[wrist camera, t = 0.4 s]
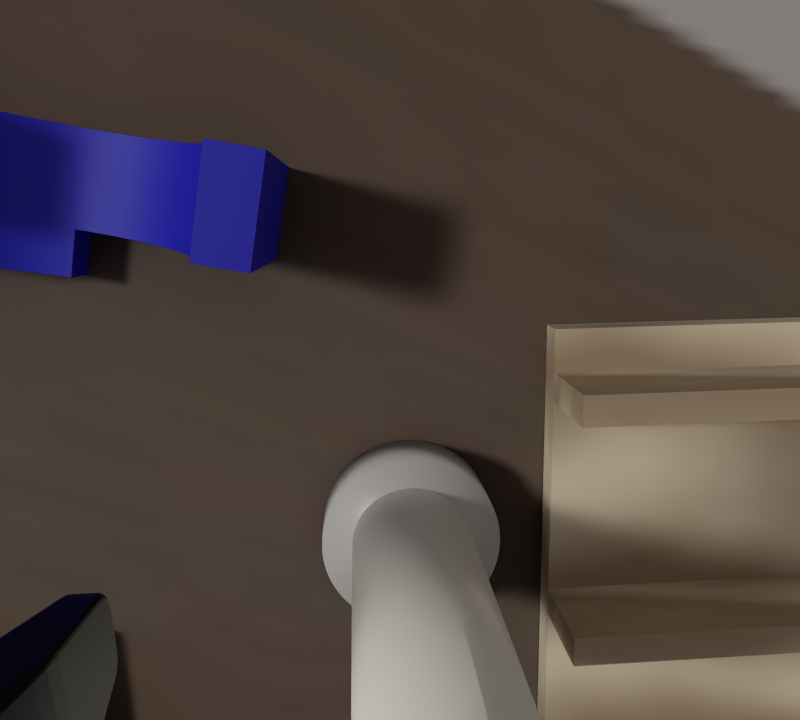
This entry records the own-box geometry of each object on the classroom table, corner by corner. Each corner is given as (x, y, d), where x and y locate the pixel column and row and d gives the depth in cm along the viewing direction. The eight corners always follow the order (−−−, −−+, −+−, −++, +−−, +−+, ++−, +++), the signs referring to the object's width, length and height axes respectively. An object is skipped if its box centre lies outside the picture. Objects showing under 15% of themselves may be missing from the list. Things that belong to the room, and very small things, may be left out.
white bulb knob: (487, 589, 26) (642, 1015, 12) (328, 597, 25) (296, 1046, 12) (489, 436, 24) (663, 715, 11) (320, 443, 24) (277, 740, 10)
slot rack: (817, 789, 28) (891, 880, 25) (535, 809, 28) (564, 907, 24) (876, 315, 24) (976, 333, 20) (547, 324, 24) (585, 345, 20)
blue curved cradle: (-102, 243, 22) (-269, 251, 16) (-98, 97, 21) (-273, 51, 15) (271, 303, 23) (242, 331, 17) (289, 167, 22) (266, 149, 16)
